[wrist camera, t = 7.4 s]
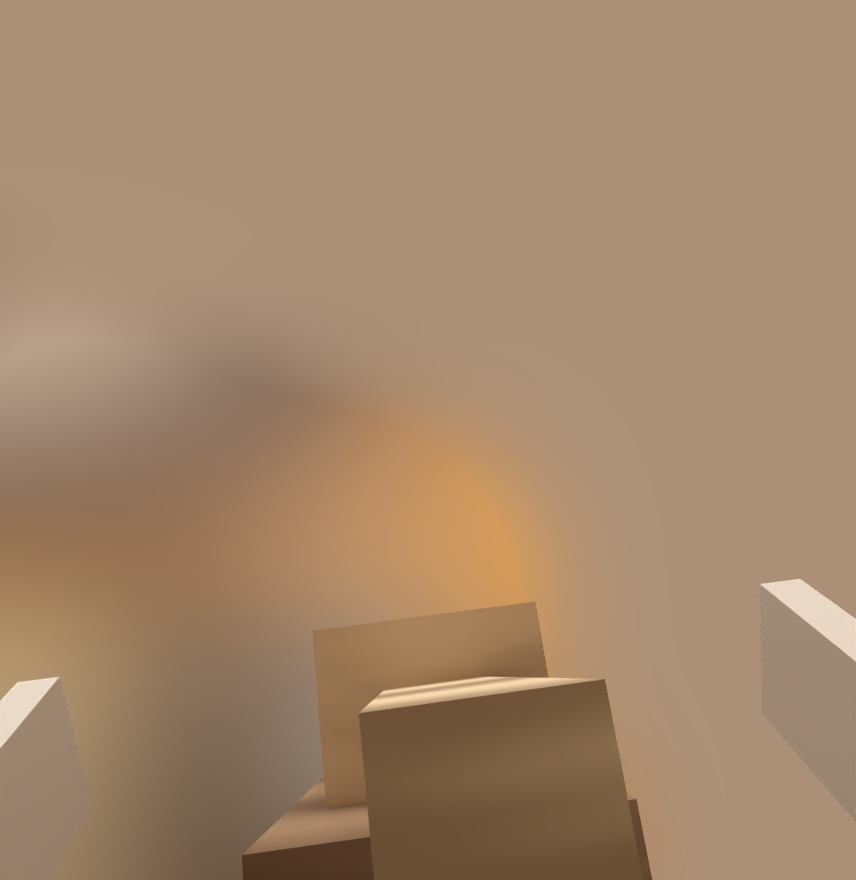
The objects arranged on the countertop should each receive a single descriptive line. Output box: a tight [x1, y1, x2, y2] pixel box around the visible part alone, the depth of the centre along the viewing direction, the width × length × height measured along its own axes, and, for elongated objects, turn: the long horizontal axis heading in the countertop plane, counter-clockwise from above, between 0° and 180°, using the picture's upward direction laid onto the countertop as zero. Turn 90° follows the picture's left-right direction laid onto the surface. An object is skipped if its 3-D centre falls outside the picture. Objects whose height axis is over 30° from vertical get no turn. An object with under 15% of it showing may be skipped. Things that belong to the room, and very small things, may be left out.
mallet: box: [313, 602, 643, 880], centre depth 18 cm, size 20×7×5 cm, turn 2°
